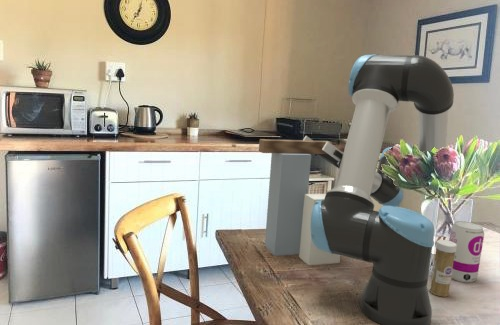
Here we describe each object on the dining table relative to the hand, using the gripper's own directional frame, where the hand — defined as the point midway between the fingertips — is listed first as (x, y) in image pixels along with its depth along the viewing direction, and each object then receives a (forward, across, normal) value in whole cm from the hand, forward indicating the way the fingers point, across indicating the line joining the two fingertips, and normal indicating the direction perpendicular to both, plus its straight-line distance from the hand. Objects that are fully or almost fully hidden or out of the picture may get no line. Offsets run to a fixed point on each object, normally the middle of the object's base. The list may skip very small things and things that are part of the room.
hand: (313, 142), depth 126 cm
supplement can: (-47, -27, -11) cm, 55 cm away
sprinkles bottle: (-35, -34, -18) cm, 52 cm away
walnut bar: (+3, 0, -6) cm, 7 cm away
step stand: (-14, -4, -30) cm, 34 cm away
